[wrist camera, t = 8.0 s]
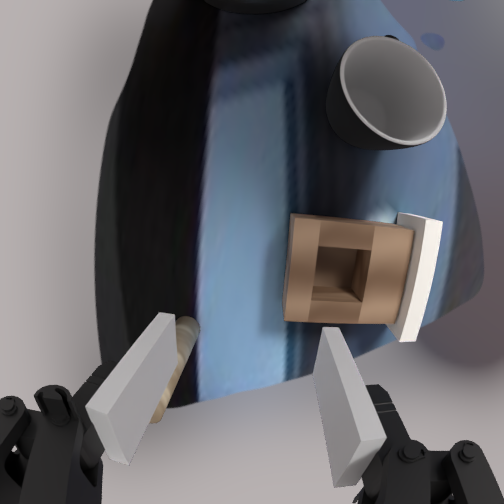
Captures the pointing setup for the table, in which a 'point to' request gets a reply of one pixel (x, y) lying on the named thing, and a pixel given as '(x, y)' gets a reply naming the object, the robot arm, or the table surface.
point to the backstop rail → (417, 274)
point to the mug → (385, 96)
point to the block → (344, 270)
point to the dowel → (185, 341)
